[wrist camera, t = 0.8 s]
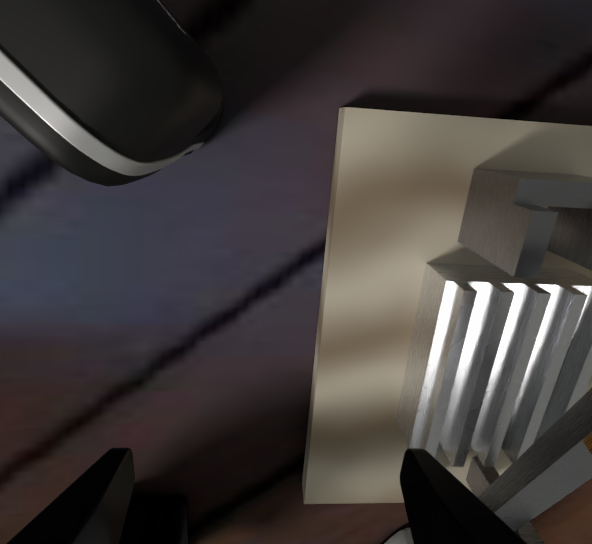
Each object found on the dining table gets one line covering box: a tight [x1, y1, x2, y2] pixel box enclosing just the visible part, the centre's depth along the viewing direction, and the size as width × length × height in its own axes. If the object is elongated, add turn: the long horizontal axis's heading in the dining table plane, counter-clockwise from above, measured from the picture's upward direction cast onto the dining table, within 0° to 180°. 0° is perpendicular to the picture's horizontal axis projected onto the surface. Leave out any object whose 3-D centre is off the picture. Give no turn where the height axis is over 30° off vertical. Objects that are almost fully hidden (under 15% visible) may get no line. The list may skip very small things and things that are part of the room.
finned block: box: [395, 263, 592, 467], centre depth 20 cm, size 10×8×4 cm
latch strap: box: [478, 388, 592, 531], centre depth 17 cm, size 17×2×3 cm, turn 176°
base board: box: [302, 107, 592, 504], centre depth 23 cm, size 24×18×2 cm
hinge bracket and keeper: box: [457, 168, 592, 544], centre depth 19 cm, size 20×5×6 cm, turn 176°
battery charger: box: [0, 0, 223, 186], centre depth 12 cm, size 7×4×11 cm, turn 41°
